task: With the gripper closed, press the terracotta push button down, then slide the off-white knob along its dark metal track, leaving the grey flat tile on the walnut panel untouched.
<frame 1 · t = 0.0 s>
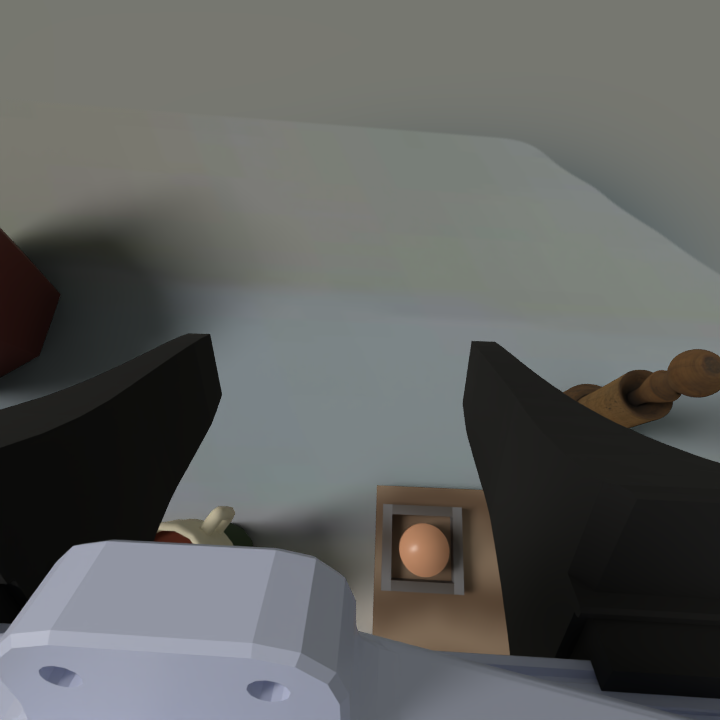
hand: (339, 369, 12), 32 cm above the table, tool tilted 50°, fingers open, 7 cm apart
character mug: (224, 557, 41), on the table
brown chess piece: (580, 422, 44), on the table
panel: (487, 603, 39), on the table
push button: (423, 549, 36), point 4 cm above the table, slide at 0.0 cm
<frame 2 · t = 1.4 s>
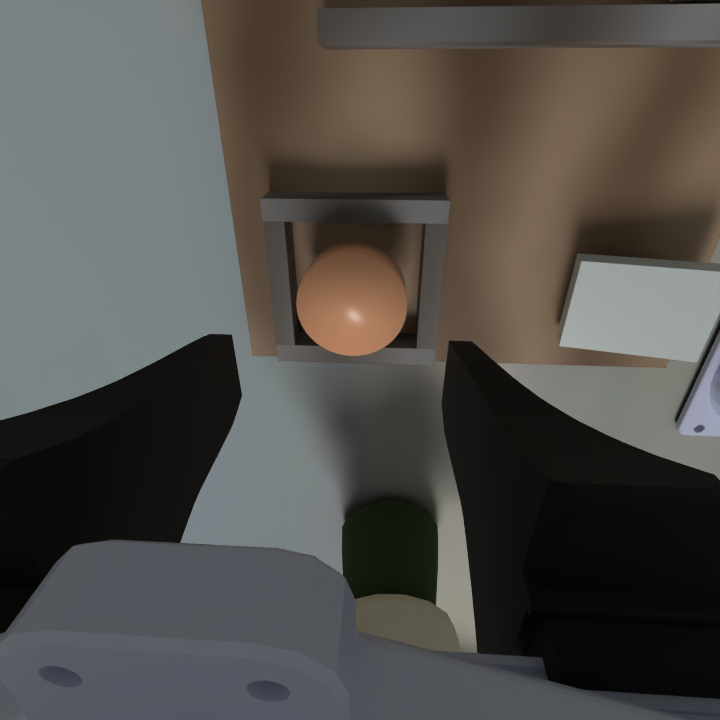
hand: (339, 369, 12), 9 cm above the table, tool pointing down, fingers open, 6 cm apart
grey flat tile: (637, 307, 17), point 3 cm above the table, hinge at 12.0°
character mug: (389, 522, 30), on the table
panel: (475, 113, 17), on the table
push button: (352, 299, 16), point 4 cm above the table, slide at 0.0 cm
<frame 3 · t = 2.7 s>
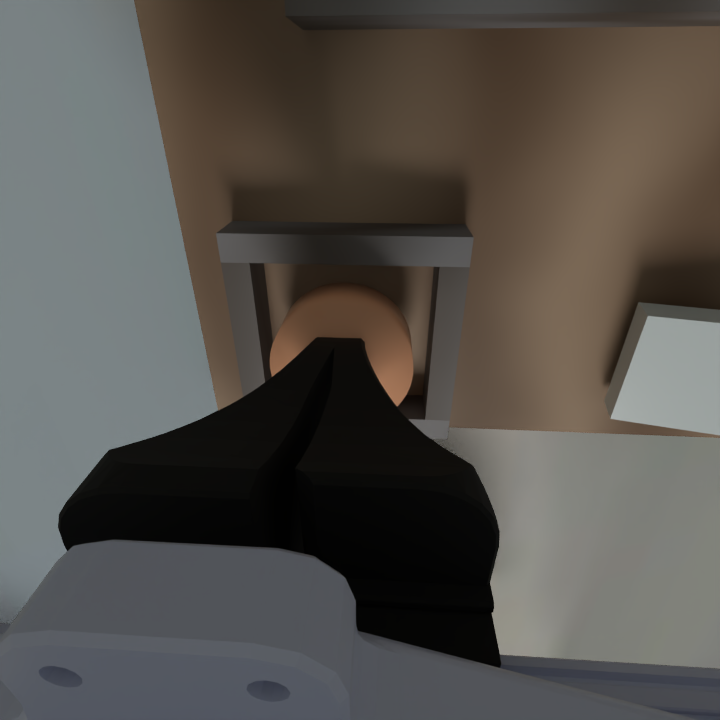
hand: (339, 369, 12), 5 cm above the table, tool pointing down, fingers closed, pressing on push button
grey flat tile: (717, 374, 13), point 3 cm above the table, hinge at 12.0°
panel: (504, 118, 13), on the table
push button: (343, 356, 13), point 4 cm above the table, slide at 0.6 cm, touching gripper
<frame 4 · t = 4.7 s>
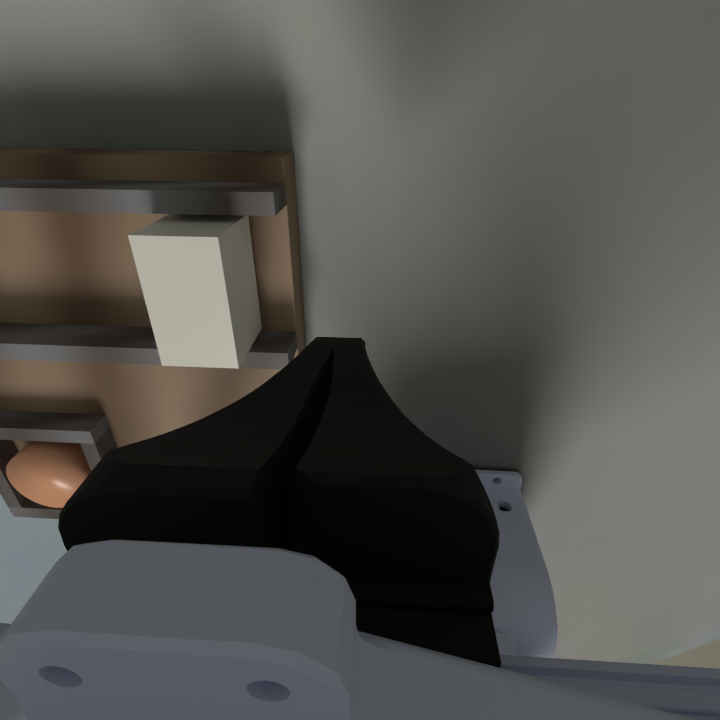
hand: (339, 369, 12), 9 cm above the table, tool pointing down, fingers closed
slider knob: (205, 288, 17), point 4 cm above the table, slide at 0.0 cm
panel: (132, 354, 24), on the table
push button: (53, 472, 24), point 3 cm above the table, slide at 1.4 cm
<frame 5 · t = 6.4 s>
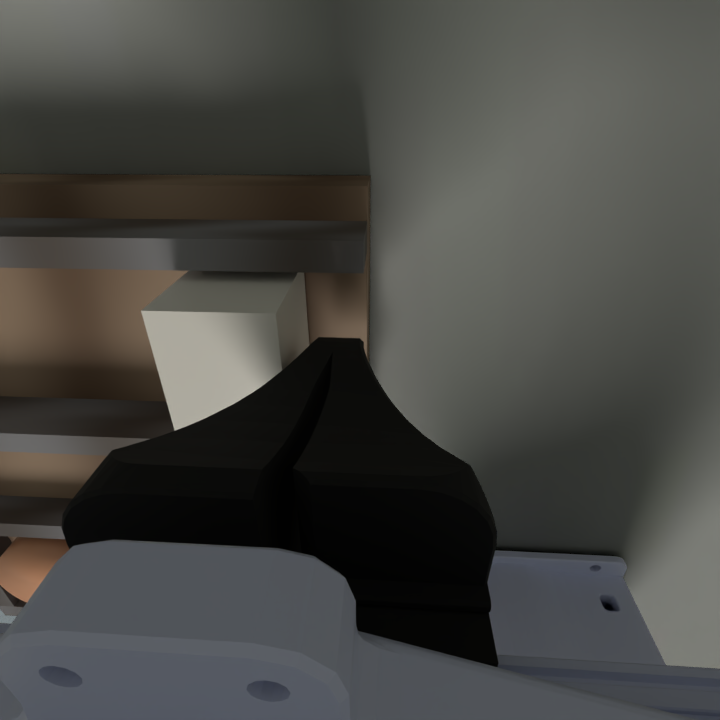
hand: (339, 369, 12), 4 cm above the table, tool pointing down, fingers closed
slider knob: (246, 367, 12), point 4 cm above the table, slide at 0.3 cm, touching gripper
panel: (148, 423, 19), on the table
push button: (52, 567, 20), point 3 cm above the table, slide at 1.4 cm
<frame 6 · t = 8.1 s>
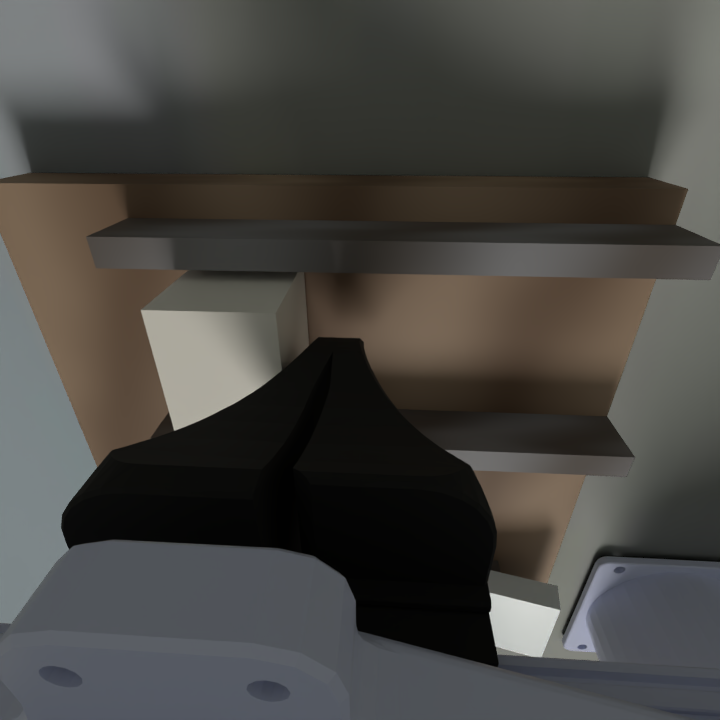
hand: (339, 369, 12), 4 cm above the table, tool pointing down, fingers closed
grey flat tile: (486, 607, 19), point 3 cm above the table, hinge at 12.0°
slider knob: (245, 367, 12), point 4 cm above the table, slide at 8.5 cm, touching gripper
panel: (337, 429, 19), on the table
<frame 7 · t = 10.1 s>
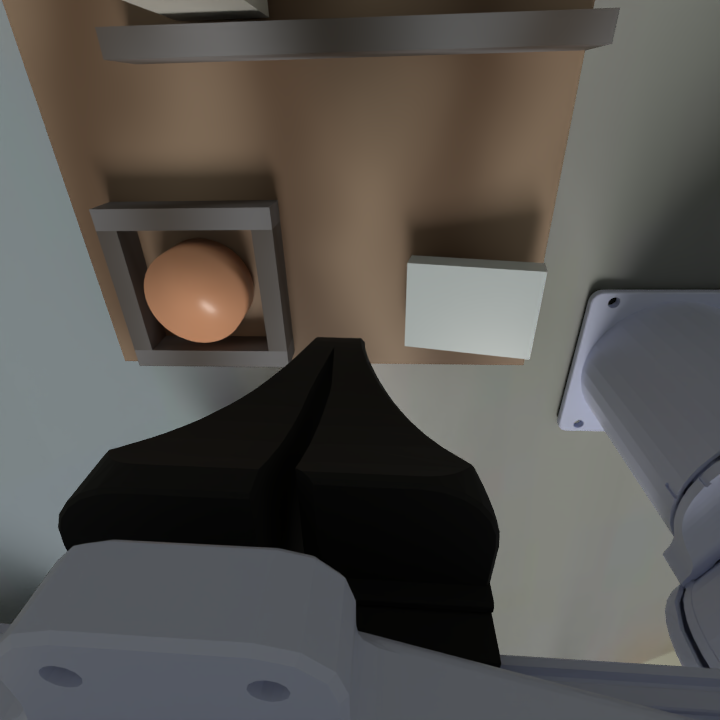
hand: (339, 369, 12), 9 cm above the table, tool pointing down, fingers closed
grey flat tile: (470, 307, 17), point 3 cm above the table, hinge at 12.0°
panel: (308, 121, 17), on the table
push button: (201, 291, 18), point 3 cm above the table, slide at 1.4 cm
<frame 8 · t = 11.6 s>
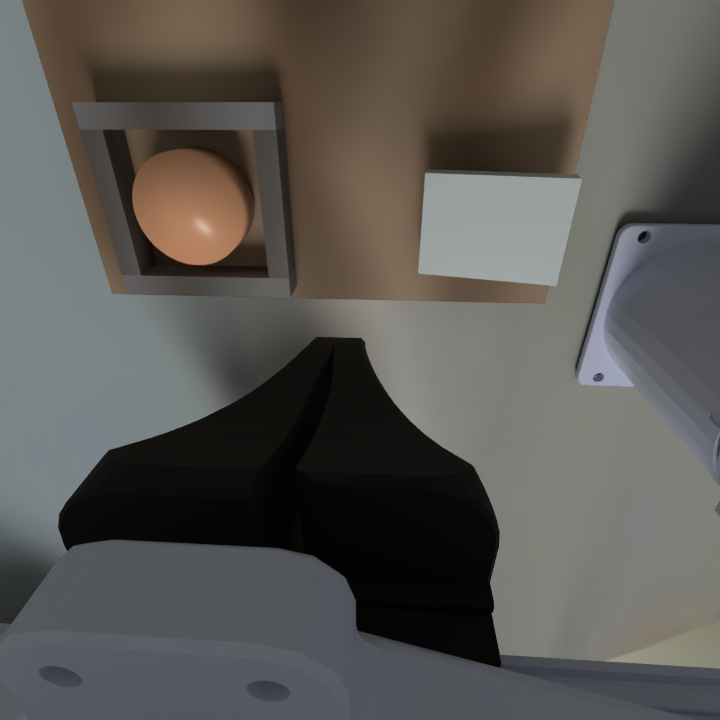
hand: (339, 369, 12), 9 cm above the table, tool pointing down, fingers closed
grey flat tile: (492, 227, 16), point 3 cm above the table, hinge at 12.0°
panel: (318, 18, 16), on the table
push button: (195, 207, 16), point 3 cm above the table, slide at 1.4 cm
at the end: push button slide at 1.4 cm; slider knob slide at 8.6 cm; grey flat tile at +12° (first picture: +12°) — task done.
